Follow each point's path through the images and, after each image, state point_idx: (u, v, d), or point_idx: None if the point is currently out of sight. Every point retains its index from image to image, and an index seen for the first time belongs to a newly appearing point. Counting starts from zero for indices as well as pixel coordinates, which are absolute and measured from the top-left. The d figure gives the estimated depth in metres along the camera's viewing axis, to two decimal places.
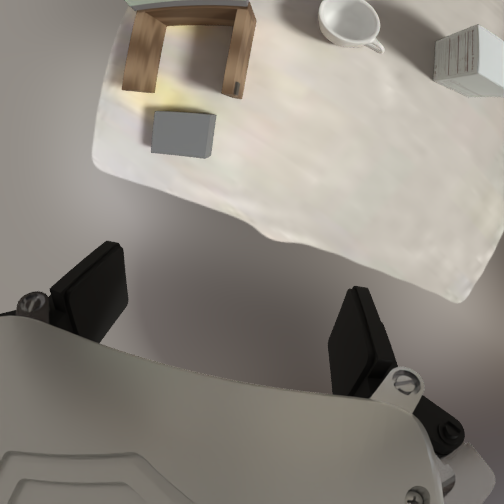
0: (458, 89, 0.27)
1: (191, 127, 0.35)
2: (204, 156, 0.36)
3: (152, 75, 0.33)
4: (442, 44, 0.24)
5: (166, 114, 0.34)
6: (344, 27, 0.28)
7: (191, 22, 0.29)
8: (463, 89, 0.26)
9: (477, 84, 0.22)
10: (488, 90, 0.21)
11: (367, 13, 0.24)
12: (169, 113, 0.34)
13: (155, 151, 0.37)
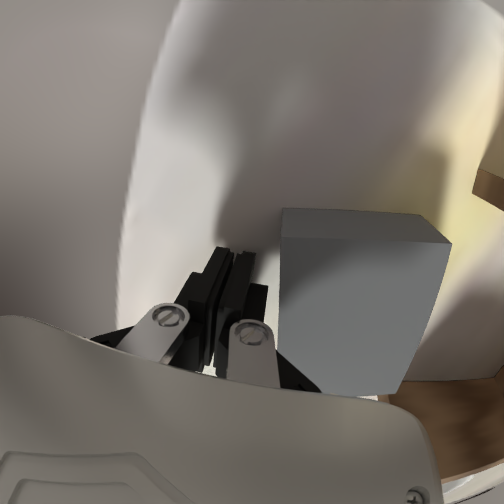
0: None
1: (372, 365, 0.11)
2: None
3: None
4: None
5: (430, 289, 0.09)
6: None
7: None
8: None
9: None
10: None
11: None
12: (431, 298, 0.09)
13: (288, 257, 0.09)
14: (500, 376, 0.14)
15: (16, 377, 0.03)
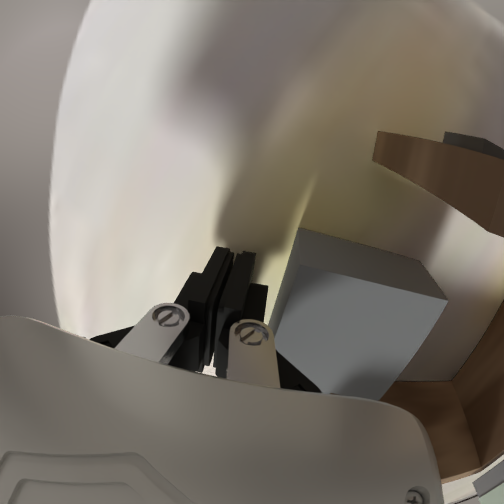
0: None
1: (347, 393, 0.11)
2: None
3: None
4: None
5: (418, 336, 0.10)
6: None
7: None
8: None
9: None
10: None
11: None
12: (416, 344, 0.10)
13: (301, 285, 0.09)
14: (458, 380, 0.14)
15: (16, 377, 0.03)
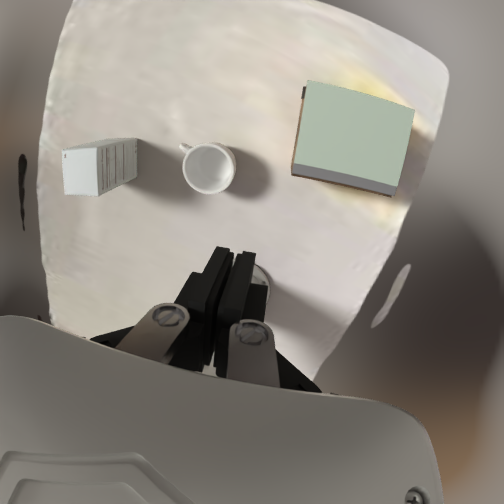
0: (114, 139, 0.42)
1: None
2: None
3: None
4: (130, 173, 0.44)
5: None
6: (214, 164, 0.44)
7: None
8: None
9: (97, 143, 0.36)
10: (87, 144, 0.36)
11: (193, 178, 0.42)
12: None
13: None
14: None
15: (16, 377, 0.03)
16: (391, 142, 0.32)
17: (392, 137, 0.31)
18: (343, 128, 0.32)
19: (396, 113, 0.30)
